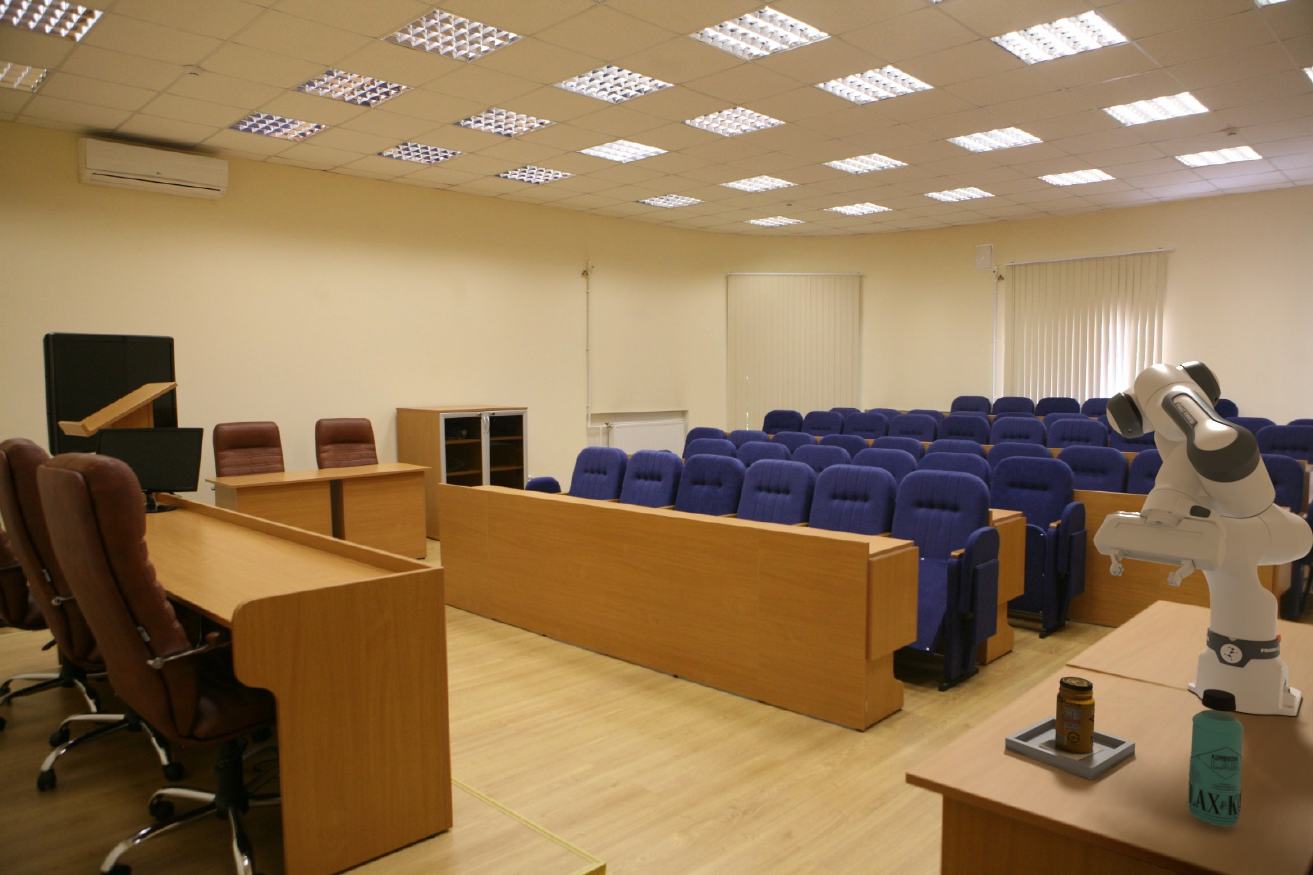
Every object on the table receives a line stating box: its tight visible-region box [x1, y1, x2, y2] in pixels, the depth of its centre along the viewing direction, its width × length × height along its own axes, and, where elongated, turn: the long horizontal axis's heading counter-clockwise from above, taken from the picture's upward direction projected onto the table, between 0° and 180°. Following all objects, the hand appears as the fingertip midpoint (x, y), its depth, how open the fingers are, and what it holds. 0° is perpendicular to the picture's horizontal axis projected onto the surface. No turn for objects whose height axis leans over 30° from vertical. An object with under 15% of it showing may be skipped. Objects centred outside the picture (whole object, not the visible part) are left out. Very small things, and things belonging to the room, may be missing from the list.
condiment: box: [1037, 676, 1104, 761], centre depth 146 cm, size 7×8×12 cm
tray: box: [1004, 715, 1136, 781], centre depth 147 cm, size 16×15×2 cm
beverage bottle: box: [1186, 689, 1245, 827], centre depth 122 cm, size 6×7×20 cm
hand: (1142, 578), depth 145 cm, fingers open, 8 cm apart
